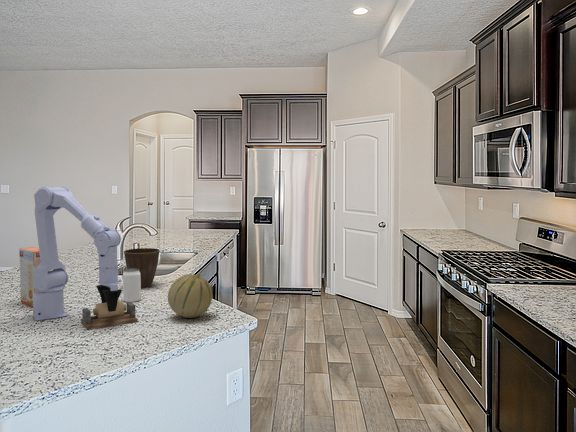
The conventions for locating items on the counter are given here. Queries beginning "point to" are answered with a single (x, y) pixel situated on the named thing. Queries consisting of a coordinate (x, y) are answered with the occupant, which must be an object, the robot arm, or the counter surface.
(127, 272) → the can
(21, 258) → the cracker box
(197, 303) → the cantaloupe
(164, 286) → the counter surface
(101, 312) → the bottle
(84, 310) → the cradle
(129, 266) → the plant pot
